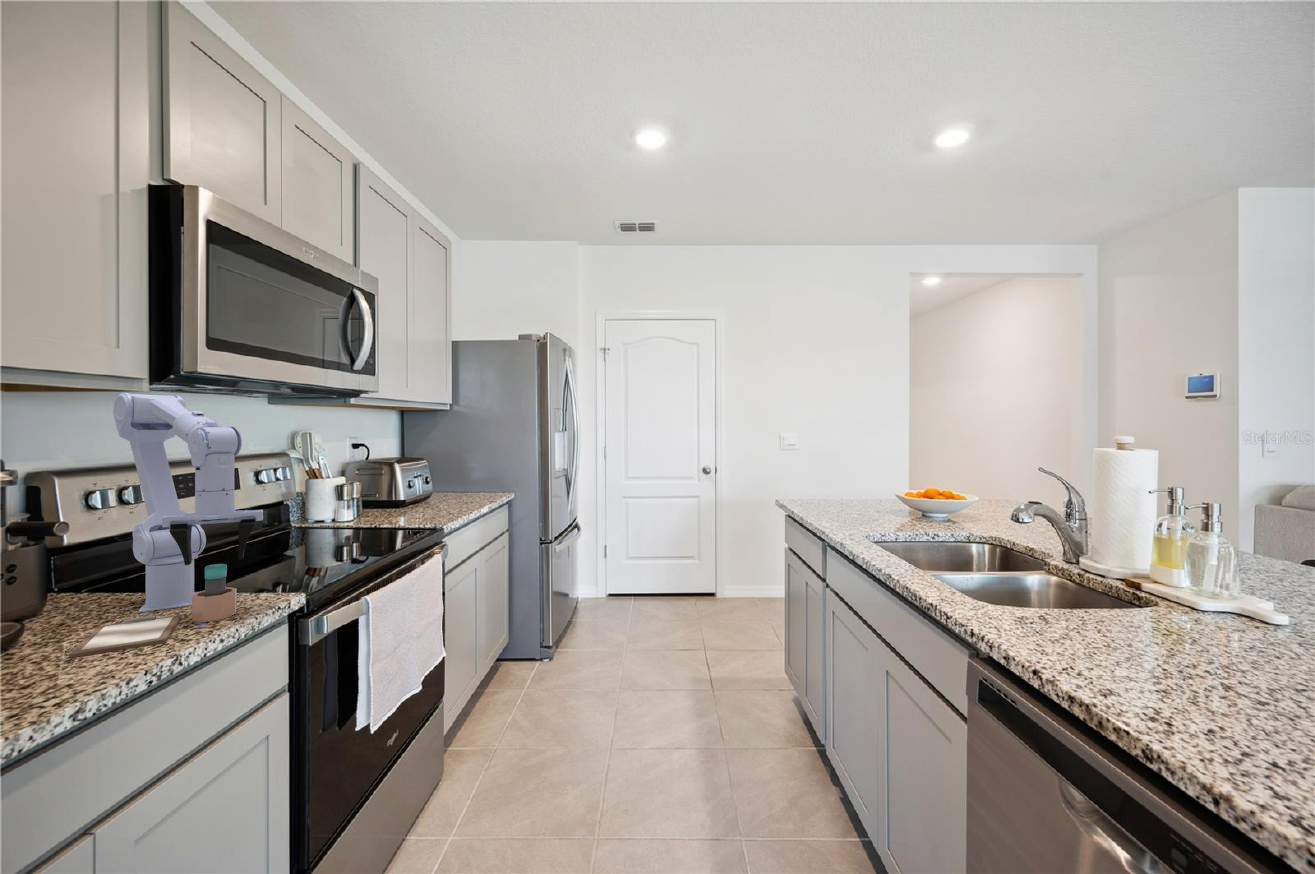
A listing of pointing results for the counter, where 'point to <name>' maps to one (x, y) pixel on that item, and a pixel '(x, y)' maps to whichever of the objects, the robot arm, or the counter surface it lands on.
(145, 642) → the picture frame
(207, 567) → the marker
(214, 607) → the terracotta pot
